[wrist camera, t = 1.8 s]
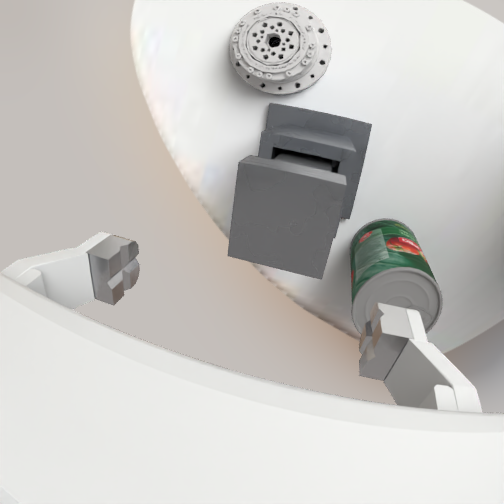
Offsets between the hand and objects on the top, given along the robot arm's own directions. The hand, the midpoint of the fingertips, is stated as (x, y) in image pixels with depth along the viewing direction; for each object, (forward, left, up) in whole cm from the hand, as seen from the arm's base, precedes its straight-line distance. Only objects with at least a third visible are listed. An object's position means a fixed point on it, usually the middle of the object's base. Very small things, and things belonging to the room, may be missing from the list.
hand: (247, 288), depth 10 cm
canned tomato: (-10, +8, -24) cm, 27 cm away
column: (0, 0, -23) cm, 23 cm away
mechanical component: (+5, -11, -24) cm, 27 cm away
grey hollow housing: (0, 0, -24) cm, 24 cm away
